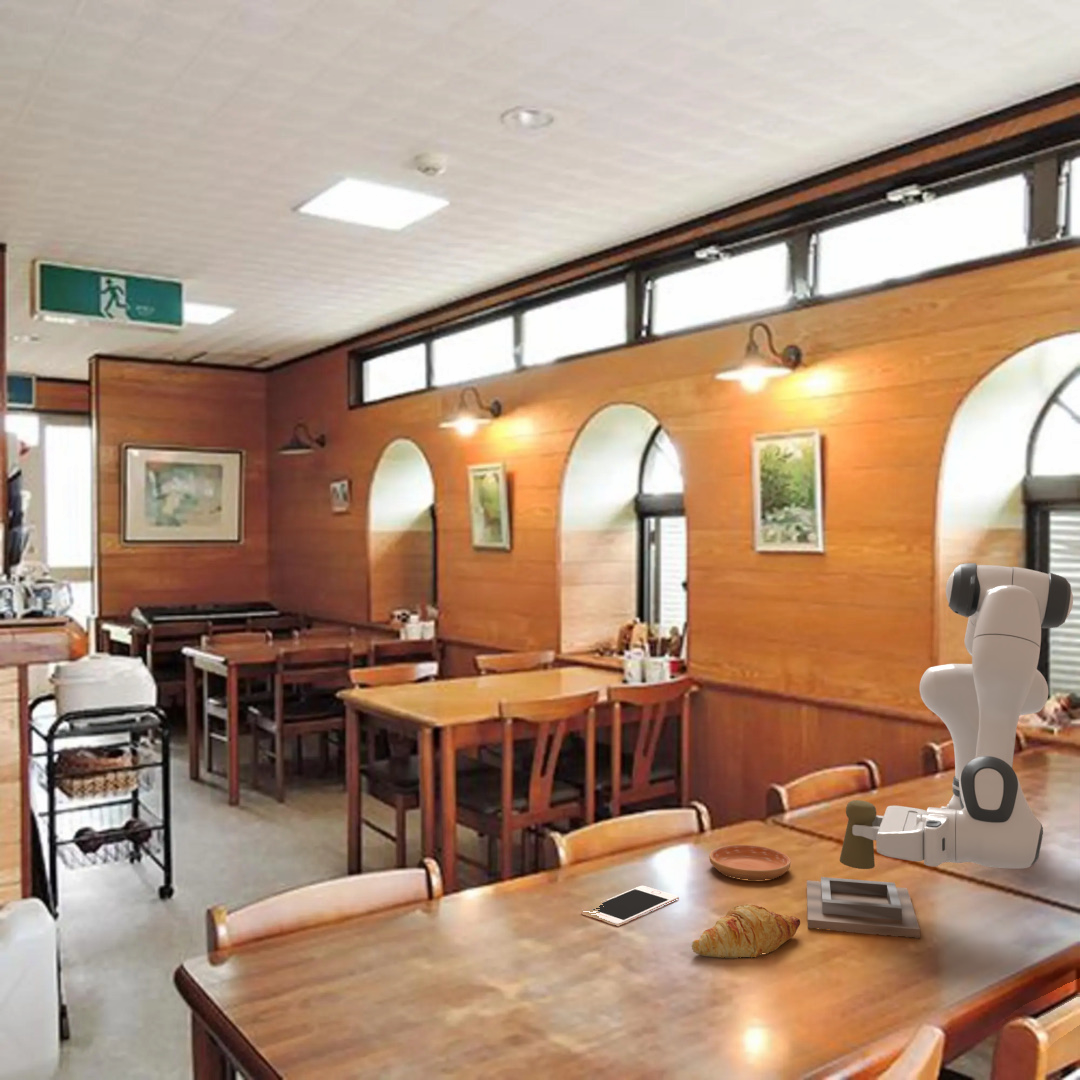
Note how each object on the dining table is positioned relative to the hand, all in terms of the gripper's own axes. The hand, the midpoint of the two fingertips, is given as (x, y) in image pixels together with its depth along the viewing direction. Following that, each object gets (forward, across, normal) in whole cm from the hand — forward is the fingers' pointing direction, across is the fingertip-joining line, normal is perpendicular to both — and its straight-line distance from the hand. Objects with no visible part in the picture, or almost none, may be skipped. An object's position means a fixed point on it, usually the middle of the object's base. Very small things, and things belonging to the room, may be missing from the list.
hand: (854, 825), depth 180 cm
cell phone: (+37, +14, +16) cm, 43 cm away
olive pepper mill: (0, 0, +7) cm, 7 cm away
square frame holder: (-1, 0, +15) cm, 15 cm away
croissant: (+14, +23, +16) cm, 31 cm away
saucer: (+22, -14, +16) cm, 31 cm away
